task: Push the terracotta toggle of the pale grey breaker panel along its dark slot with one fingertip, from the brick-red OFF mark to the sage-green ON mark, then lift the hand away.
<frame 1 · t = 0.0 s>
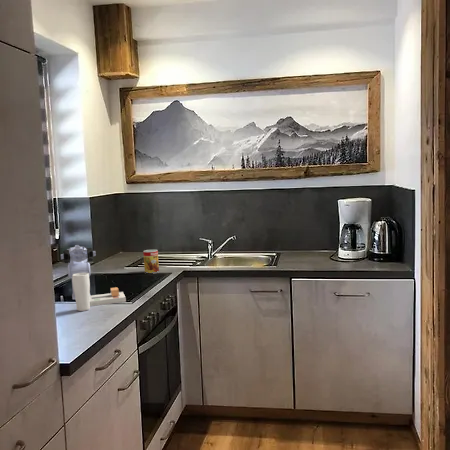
hand: (78, 256, 225), 22 cm above the counter, tool horizontal, fingers open, 7 cm apart
canned food: (152, 272, 296), on the counter
breaker panel: (106, 301, 235), on the counter
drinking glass: (83, 310, 223), on the counter
breaker toggle: (114, 291, 236), point 4 cm above the counter, slide at 0.0 cm
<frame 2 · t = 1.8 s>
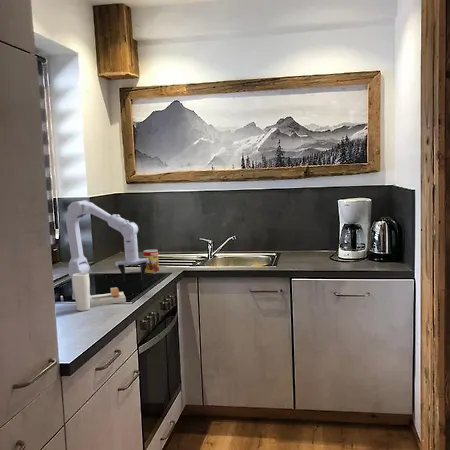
hand: (133, 280, 238), 8 cm above the counter, tool pointing down, fingers open, 7 cm apart
nothing on the counter moved.
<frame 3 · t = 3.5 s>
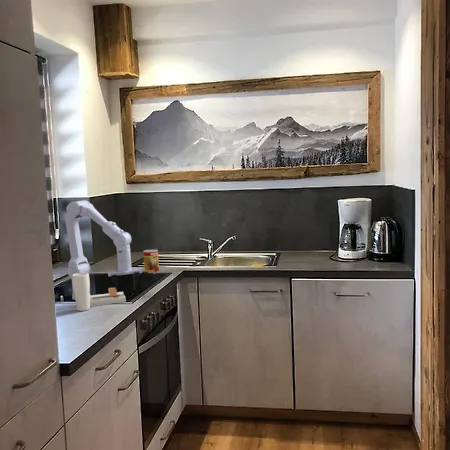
hand: (126, 290, 238), 4 cm above the counter, tool pointing down, fingers open, 7 cm apart
breaker toggle: (112, 292, 236), point 4 cm above the counter, slide at 0.9 cm, touching gripper
everything else where it was.
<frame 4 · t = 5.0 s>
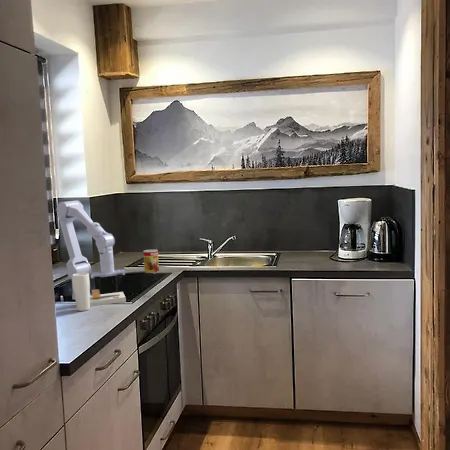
hand: (109, 292, 235), 4 cm above the counter, tool pointing down, fingers open, 6 cm apart
breaker toggle: (95, 293, 234), point 4 cm above the counter, slide at 8.1 cm, touching gripper
everything else where it was.
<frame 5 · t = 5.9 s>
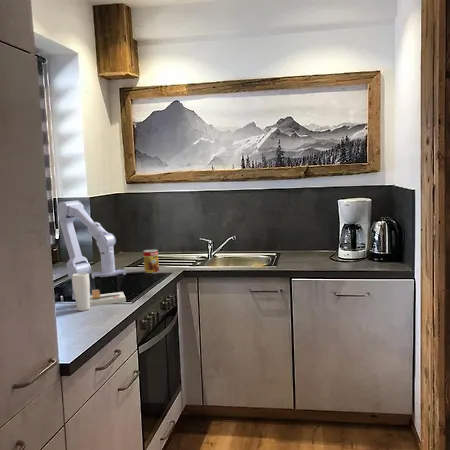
hand: (110, 292, 236), 4 cm above the counter, tool pointing down, fingers open, 7 cm apart
breaker toggle: (95, 293, 234), point 4 cm above the counter, slide at 8.1 cm
everything else where it was.
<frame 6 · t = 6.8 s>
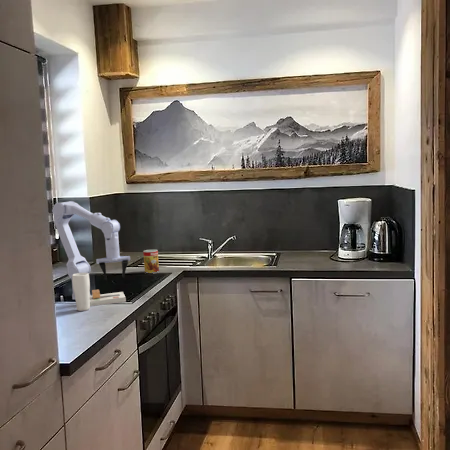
hand: (114, 278, 237), 9 cm above the counter, tool pointing down, fingers open, 7 cm apart
nothing on the counter moved.
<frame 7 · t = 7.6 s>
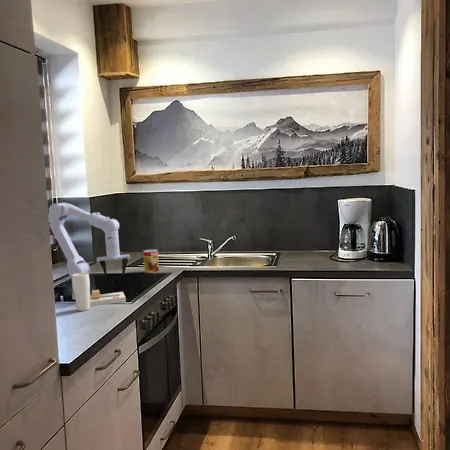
hand: (114, 276, 241), 9 cm above the counter, tool pointing down, fingers open, 7 cm apart
nothing on the counter moved.
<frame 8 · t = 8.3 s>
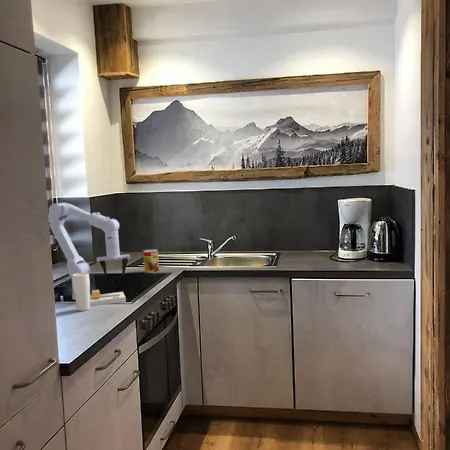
hand: (114, 276, 241), 9 cm above the counter, tool pointing down, fingers open, 7 cm apart
nothing on the counter moved.
at the end: breaker toggle slide at 8.1 cm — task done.
